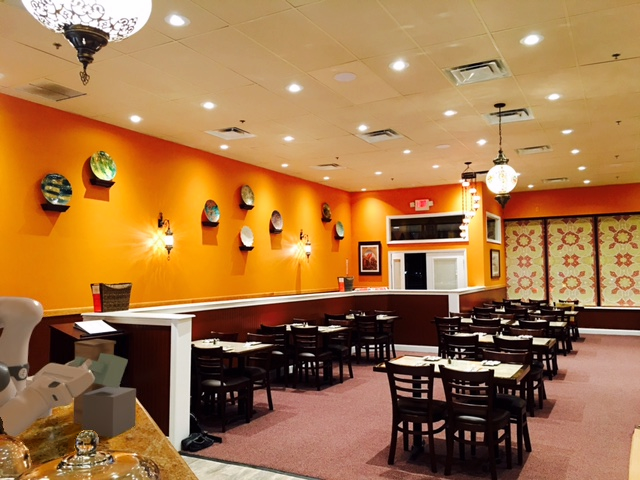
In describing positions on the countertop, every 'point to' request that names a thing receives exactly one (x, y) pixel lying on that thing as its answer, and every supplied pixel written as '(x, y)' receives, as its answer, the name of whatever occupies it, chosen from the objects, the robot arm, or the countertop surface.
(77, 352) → the stand
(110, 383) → the green mallet
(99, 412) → the riser
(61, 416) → the countertop surface
